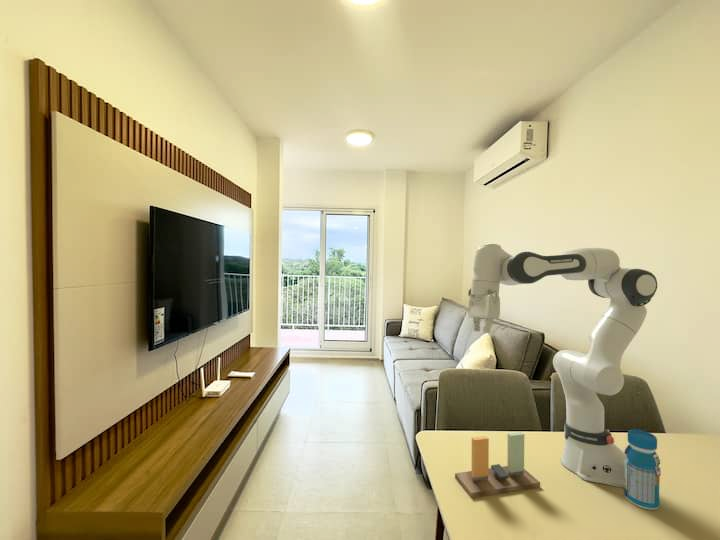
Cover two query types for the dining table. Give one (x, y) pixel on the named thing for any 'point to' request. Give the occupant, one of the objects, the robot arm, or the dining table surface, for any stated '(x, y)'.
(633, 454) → the beverage bottle
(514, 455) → the sage paddle lever
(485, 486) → the walnut switch board
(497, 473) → the dark gray rocker switch
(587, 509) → the dining table surface
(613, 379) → the robot arm
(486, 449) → the orange paddle lever
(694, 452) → the dining table surface
